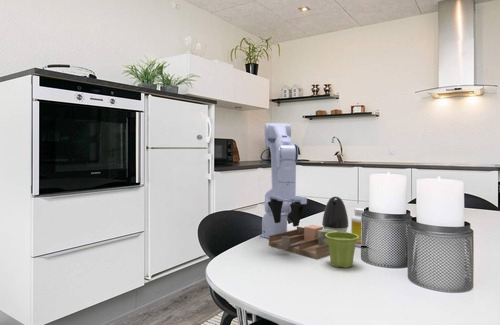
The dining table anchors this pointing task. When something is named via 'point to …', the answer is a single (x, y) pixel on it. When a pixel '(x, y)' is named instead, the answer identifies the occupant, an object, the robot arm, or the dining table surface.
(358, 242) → the supplement bottle
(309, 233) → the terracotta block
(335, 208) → the black rounded cone
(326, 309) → the dining table surface
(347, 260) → the plant pot
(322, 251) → the lane shelf
